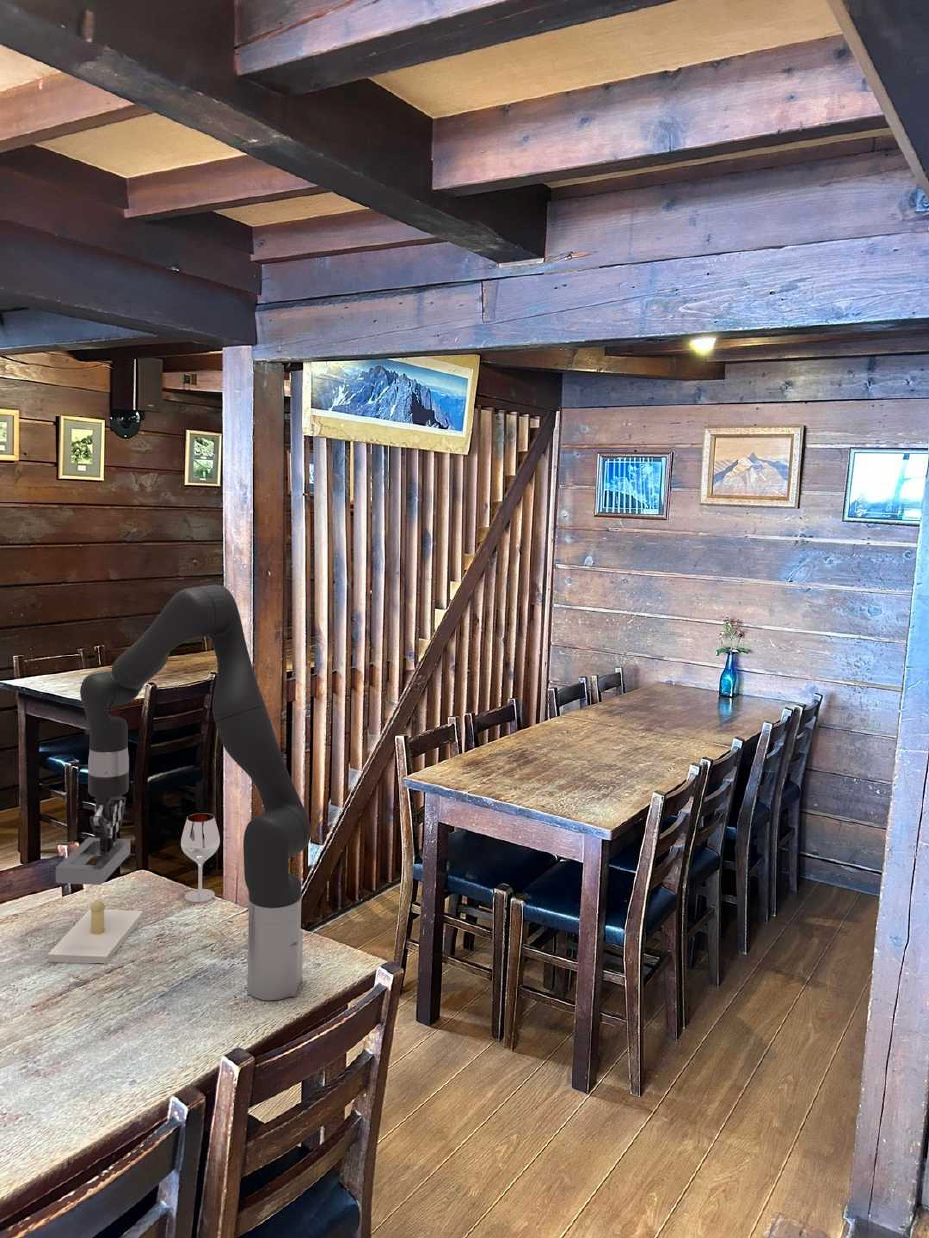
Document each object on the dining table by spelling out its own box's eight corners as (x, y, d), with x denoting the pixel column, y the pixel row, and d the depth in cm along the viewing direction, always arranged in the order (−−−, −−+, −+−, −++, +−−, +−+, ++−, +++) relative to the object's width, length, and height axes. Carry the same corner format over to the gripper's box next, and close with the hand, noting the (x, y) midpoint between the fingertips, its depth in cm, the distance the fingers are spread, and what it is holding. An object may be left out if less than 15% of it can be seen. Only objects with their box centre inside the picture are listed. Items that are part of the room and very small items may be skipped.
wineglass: (180, 889, 200) (181, 812, 198) (218, 886, 203) (219, 810, 201) (180, 905, 193) (181, 825, 190) (219, 902, 195) (220, 822, 193)
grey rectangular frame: (88, 851, 181) (88, 837, 181) (130, 853, 181) (130, 839, 181) (55, 882, 166) (55, 867, 166) (101, 884, 166) (101, 869, 166)
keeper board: (142, 917, 186) (142, 882, 185) (106, 964, 167) (106, 924, 166) (90, 915, 186) (89, 879, 185) (47, 961, 167) (47, 922, 166)
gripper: (114, 781, 171) (113, 867, 174) (139, 760, 185) (138, 840, 187) (75, 779, 171) (75, 865, 174) (103, 758, 185) (102, 839, 187)
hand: (108, 852), depth 180 cm, fingers closed on grey rectangular frame
